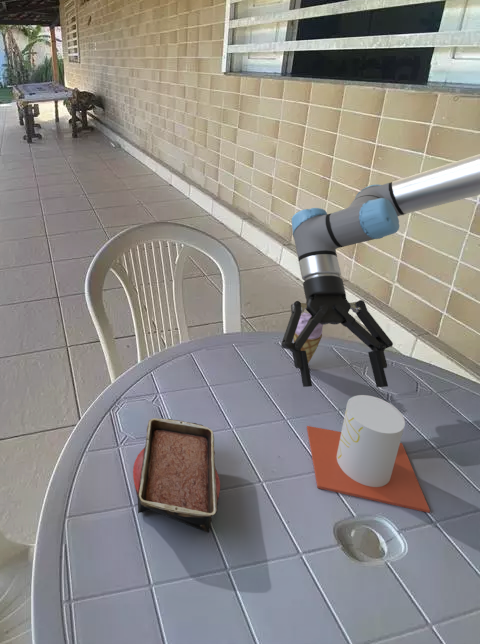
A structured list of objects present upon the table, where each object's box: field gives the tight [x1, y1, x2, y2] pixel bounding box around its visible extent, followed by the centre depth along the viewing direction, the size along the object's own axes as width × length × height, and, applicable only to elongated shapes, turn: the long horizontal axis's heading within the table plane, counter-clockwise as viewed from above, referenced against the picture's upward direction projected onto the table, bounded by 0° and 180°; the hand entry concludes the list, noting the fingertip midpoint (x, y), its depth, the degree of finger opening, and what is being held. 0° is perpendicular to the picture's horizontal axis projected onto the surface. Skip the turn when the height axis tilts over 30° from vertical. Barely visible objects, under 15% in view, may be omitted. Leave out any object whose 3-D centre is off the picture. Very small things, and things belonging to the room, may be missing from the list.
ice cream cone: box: [293, 311, 324, 364], centre depth 96 cm, size 7×6×15 cm
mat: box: [306, 425, 431, 514], centre depth 75 cm, size 16×13×1 cm
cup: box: [337, 394, 406, 487], centre depth 72 cm, size 8×8×12 cm
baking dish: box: [132, 417, 221, 533], centre depth 71 cm, size 14×18×10 cm
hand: (344, 386), depth 81 cm, fingers open, 13 cm apart
